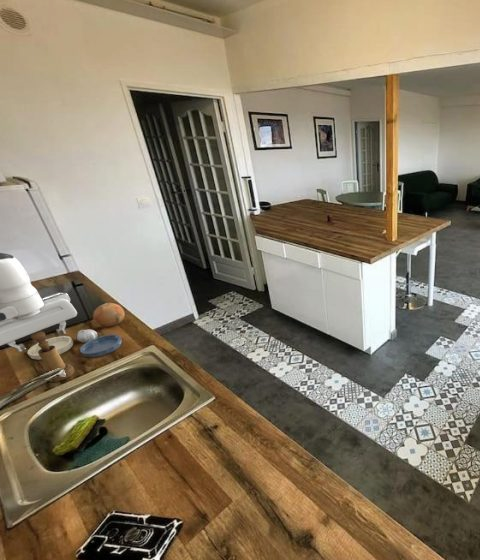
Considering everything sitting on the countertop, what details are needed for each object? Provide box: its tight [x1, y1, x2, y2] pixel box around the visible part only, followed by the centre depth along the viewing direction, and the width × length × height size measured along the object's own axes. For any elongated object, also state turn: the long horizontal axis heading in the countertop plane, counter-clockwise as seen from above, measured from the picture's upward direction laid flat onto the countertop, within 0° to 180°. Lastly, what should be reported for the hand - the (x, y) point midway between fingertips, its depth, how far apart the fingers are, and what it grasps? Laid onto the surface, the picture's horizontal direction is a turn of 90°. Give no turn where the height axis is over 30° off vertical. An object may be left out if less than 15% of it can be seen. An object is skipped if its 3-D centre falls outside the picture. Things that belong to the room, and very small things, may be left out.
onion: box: [92, 302, 125, 328], centre depth 129 cm, size 10×10×10 cm
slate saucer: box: [79, 333, 123, 359], centre depth 117 cm, size 12×12×2 cm
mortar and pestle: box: [30, 330, 76, 383], centre depth 100 cm, size 7×6×18 cm
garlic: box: [76, 328, 99, 344], centre depth 120 cm, size 6×5×5 cm
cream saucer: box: [26, 335, 74, 361], centre depth 115 cm, size 12×12×2 cm
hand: (43, 341), depth 98 cm, fingers open, 8 cm apart
